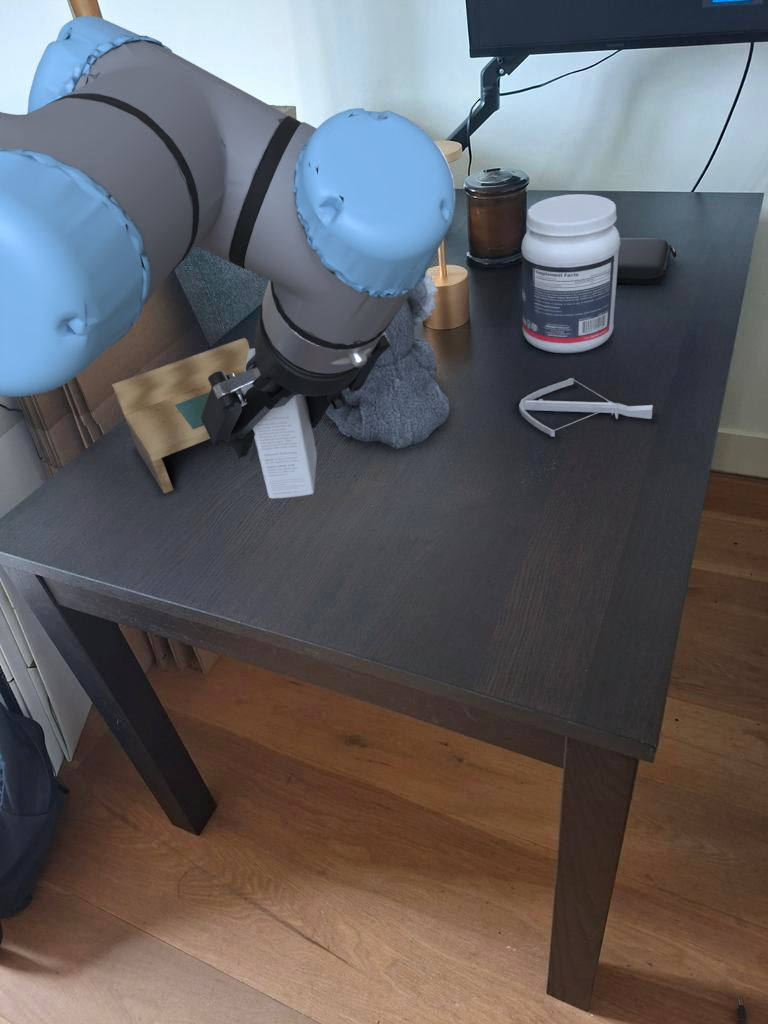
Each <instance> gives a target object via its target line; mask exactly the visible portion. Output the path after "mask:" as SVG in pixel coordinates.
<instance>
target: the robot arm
mask: <svg viewBox="0 0 768 1024" xmlns="http://www.w3.org/2000/svg"><path fill="white" fill-rule="evenodd" d="M455 208H456V188H455V181H454V176H453V173H452V170H451V168H450V165H449V162H448V160H447V158H446V156H445V154H444V153H443V151H442V149H441V148H440V146H439V145H438V144H437V143H436V142H435V141H434V139H433V138H432V137H431V136H430V135H429V134H428V133H427V132H426V131H425V130H424V128H422V127H420V126H419V125H418V124H417V123H416V122H414V121H412V120H410V119H409V118H407V117H405V116H403V115H401V114H399V113H397V112H394V111H391V110H384V111H371V110H366V109H365V108H364V107H363V108H362V107H361V108H360V107H358V108H357V107H355V108H348V109H346V110H343V111H341V112H338V113H335V114H333V115H332V116H330V117H328V118H327V119H325V120H324V121H323V122H322V123H321V124H320V125H319V126H318V127H315V126H314V125H311V124H309V123H307V122H305V121H300V120H298V119H296V118H295V117H293V116H291V115H289V114H286V113H285V112H283V111H281V110H279V109H277V108H275V107H274V106H272V105H270V104H268V103H266V102H265V101H262V100H261V99H259V98H257V97H255V96H254V95H252V94H250V93H248V92H246V91H245V90H242V89H241V88H239V87H238V86H235V85H233V84H232V83H229V82H228V81H227V80H224V79H222V78H221V77H219V76H217V75H215V74H213V73H211V72H209V71H208V70H205V69H204V68H203V67H200V66H198V65H196V64H195V63H194V62H193V63H192V62H191V61H189V60H188V59H185V58H184V57H182V56H181V55H178V54H177V53H174V52H173V51H172V49H171V48H170V47H168V46H166V45H165V44H163V42H161V41H160V40H158V39H156V38H154V37H151V36H149V35H140V34H138V33H136V32H133V31H131V30H129V29H126V28H124V27H122V26H120V25H118V24H115V23H114V22H111V21H109V20H106V19H104V18H103V17H98V16H94V15H81V16H77V17H74V18H73V19H71V20H69V21H68V22H66V23H65V24H64V25H63V26H61V28H60V30H59V32H58V34H57V37H56V40H55V41H54V40H52V41H51V42H49V43H48V44H47V45H46V47H45V49H44V51H43V53H42V55H41V58H40V60H39V62H38V63H37V66H36V69H35V72H34V75H33V78H32V82H31V86H30V90H29V94H28V100H27V112H26V114H13V113H7V112H3V111H0V397H4V398H21V397H29V396H37V395H41V394H45V393H48V392H51V391H54V390H56V389H59V388H60V387H62V386H64V385H66V384H68V383H69V382H70V381H72V380H73V379H74V378H77V376H79V375H80V374H81V373H82V372H83V371H85V370H86V369H87V368H88V367H89V366H91V364H93V363H94V362H95V361H96V360H97V359H98V358H100V357H101V355H102V354H103V353H105V352H106V351H107V350H109V348H111V347H113V346H114V345H116V344H117V343H118V342H119V341H121V340H122V339H123V338H124V337H125V336H126V335H127V334H128V333H129V332H130V331H131V330H132V328H133V325H134V324H135V323H136V322H137V321H138V319H139V318H140V317H141V315H142V312H143V309H144V307H145V305H147V303H148V302H149V301H150V299H151V298H152V297H153V296H154V294H155V293H156V292H157V291H158V289H159V288H160V286H161V285H162V284H163V283H164V281H165V280H166V279H167V278H168V277H169V276H170V275H171V273H172V272H174V270H176V269H177V268H178V267H179V266H180V264H181V263H183V262H184V261H185V259H186V258H187V257H188V256H189V255H190V254H191V253H192V252H193V250H194V249H195V247H197V248H200V249H202V250H204V251H206V252H208V253H210V254H213V255H214V256H215V257H216V256H217V257H218V258H221V259H222V260H225V261H227V262H228V263H231V264H233V265H235V266H237V267H238V268H239V267H240V268H241V269H246V270H248V271H250V272H252V273H253V274H256V275H257V276H260V277H263V278H264V279H266V280H268V282H267V285H266V289H265V292H264V295H263V299H262V305H261V309H260V313H259V316H258V319H257V323H256V327H255V333H254V348H255V355H254V356H253V357H252V358H251V359H250V360H249V361H248V362H247V364H246V372H243V373H241V374H239V375H237V376H234V374H233V373H228V374H227V375H226V374H225V373H224V372H223V371H218V372H215V373H213V374H212V375H210V376H209V377H208V380H209V382H210V384H211V386H212V388H211V391H210V394H209V396H208V399H207V402H206V405H205V407H204V410H203V413H202V416H201V420H202V422H203V424H204V426H205V428H206V430H207V432H208V435H209V437H210V439H209V440H211V443H212V445H213V447H215V446H216V447H217V446H222V445H223V444H225V442H226V444H227V445H228V446H233V448H234V450H235V453H236V455H237V457H238V459H242V458H243V457H245V456H248V453H249V451H250V448H251V446H252V443H253V440H254V436H255V433H254V431H253V429H252V428H253V427H254V426H255V425H256V424H257V423H258V422H259V421H260V420H261V419H262V418H263V417H264V416H265V415H266V414H267V413H268V412H269V411H270V410H271V409H274V408H277V407H281V406H284V405H285V404H286V403H287V402H288V401H289V400H290V399H291V398H292V397H293V396H295V395H299V394H301V395H306V400H307V405H308V410H309V416H310V421H311V426H312V430H313V429H316V428H317V426H318V424H319V423H320V422H321V420H322V418H323V416H324V415H325V414H326V413H325V412H326V410H327V409H328V407H329V406H330V405H331V404H332V406H333V408H334V409H339V408H341V407H343V406H344V405H346V404H347V403H346V401H345V399H344V396H343V394H342V391H343V390H345V389H347V388H349V390H350V392H353V391H358V390H359V389H360V388H361V387H362V386H363V385H364V383H365V381H366V379H367V377H368V376H369V374H370V372H371V370H372V368H373V367H374V365H375V363H376V361H377V359H378V357H379V356H380V355H381V354H382V353H383V352H385V351H386V350H387V349H388V348H389V347H390V346H391V344H390V342H389V340H388V338H387V336H386V334H385V332H384V331H385V330H386V329H387V327H388V326H389V325H390V323H391V322H392V320H393V319H394V317H395V316H396V314H397V313H398V311H399V310H400V309H401V307H402V306H403V304H404V303H405V301H406V300H407V299H408V297H409V296H410V294H411V293H412V291H413V290H414V289H415V287H416V286H418V285H419V284H420V283H421V282H422V281H423V279H424V278H425V277H426V276H425V273H426V271H427V272H428V270H429V268H430V266H431V264H432V262H433V260H434V258H435V256H436V254H437V252H438V250H439V249H440V248H441V245H442V243H443V241H444V239H445V238H446V236H447V234H448V232H449V231H450V228H451V227H452V222H453V218H454V214H455Z"/></svg>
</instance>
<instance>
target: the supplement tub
mask: <svg viewBox="0 0 768 1024" xmlns="http://www.w3.org/2000/svg"><path fill="white" fill-rule="evenodd" d="M526 216H527V217H526V219H527V220H526V228H527V229H528V230H527V231H526V233H525V234H524V236H523V238H522V241H521V246H520V249H521V288H522V289H521V290H522V293H521V295H522V298H521V299H522V333H523V336H524V338H525V340H526V341H527V342H528V343H529V344H530V345H531V346H533V347H534V348H536V349H539V350H542V351H545V352H549V353H554V354H576V353H583V352H587V351H590V350H593V349H595V348H597V347H599V346H601V345H603V344H604V343H605V342H607V341H608V340H609V339H610V337H611V335H612V334H613V331H614V327H615V324H614V323H615V310H616V298H617V285H618V284H617V273H618V260H619V246H620V239H621V237H620V233H619V230H618V229H617V227H616V226H615V225H614V224H615V223H616V221H617V218H618V217H617V204H615V202H614V201H612V199H609V198H607V197H604V196H599V195H595V194H586V193H585V194H584V193H583V194H582V193H581V194H579V193H577V194H575V193H574V194H564V195H558V196H552V197H547V198H545V199H543V200H540V201H538V202H536V203H534V204H532V205H531V206H530V207H529V208H528V210H527V215H526Z"/></svg>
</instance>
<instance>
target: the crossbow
mask: <svg viewBox="0 0 768 1024" xmlns="http://www.w3.org/2000/svg"><path fill="white" fill-rule="evenodd" d="M574 378H575V377H573V378H572V377H569V378H567V379H565V380H563V381H559V382H557V383H553V384H551V385H547V386H546V387H543V388H540V389H538V390H536V391H533V392H532V393H529V394H527V395H526V396H525V397H523V398H521V399H520V402H519V404H518V409H519V410H518V411H519V413H520V415H521V417H523V418H524V419H525V420H526V421H527V422H528V423H529V424H531V425H532V426H534V427H535V428H537V429H538V430H540V431H542V432H543V433H545V434H547V435H549V436H550V437H553V438H555V437H556V434H555V433H556V432H555V431H558V430H560V429H562V428H565V427H568V426H570V425H573V424H575V423H577V422H579V421H582V420H584V419H587V418H590V417H591V416H594V415H597V414H599V413H601V414H602V413H604V414H605V413H606V414H611V416H613V415H614V416H615V419H616V420H618V419H619V415H622V416H625V417H629V418H630V417H631V418H637V419H639V418H640V419H647V420H652V418H653V410H654V409H653V408H654V405H653V404H648V405H626V404H622V403H619V402H613V401H611V400H608V398H606V397H604V396H602V395H601V394H599V393H597V392H596V391H594V390H593V389H590V388H589V387H588V386H586V385H584V384H583V383H580V382H579V381H577V380H575V379H574ZM575 383H577V384H578V385H581V387H584V388H585V389H587V390H589V391H590V392H592V393H594V394H595V395H597V396H599V397H600V398H601V399H604V400H606V401H607V402H603V401H574V400H573V401H572V400H571V401H570V400H544V399H543V398H540V397H542V396H543V395H546V394H549V393H552V392H554V391H558V390H560V389H562V388H566V387H569V386H572V385H574V384H575ZM537 398H539V399H538V400H537ZM528 411H544V412H545V411H546V412H547V411H548V412H571V413H572V412H573V413H574V412H575V413H579V412H580V413H593V414H589V415H587V416H585V417H582V418H580V419H578V420H575V421H573V422H571V423H568V424H565V425H563V426H561V427H557V428H556V429H552V428H550V427H548V426H547V425H545V424H543V423H542V422H540V421H538V420H537V419H536V418H535V417H533V416H531V415H530V413H528Z"/></svg>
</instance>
